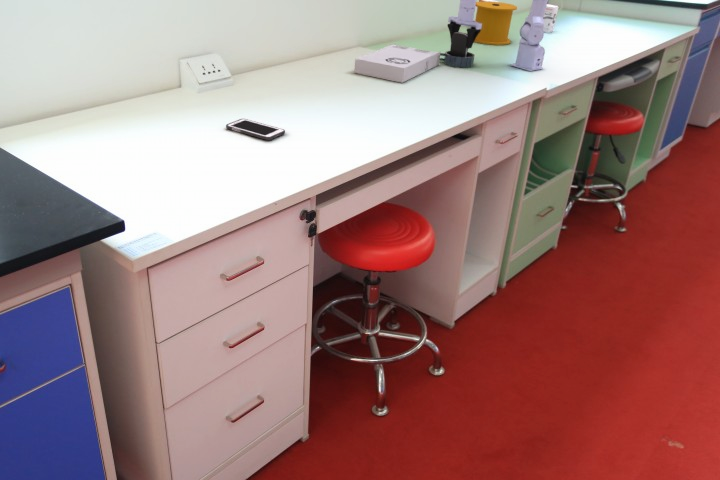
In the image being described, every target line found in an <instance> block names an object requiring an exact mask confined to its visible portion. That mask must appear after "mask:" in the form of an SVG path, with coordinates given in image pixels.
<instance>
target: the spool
mask: <svg viewBox="0 0 720 480" xmlns="http://www.w3.org/2000/svg"><path fill="white" fill-rule="evenodd" d="M475 8H476V14H475V20H474V21H476V22H478V23H481V24H482V27H481V31H480V33H479V34H478V35H477V37H476V39H475V41H474V43H478V44H484V45H489V46H490V45H491V46H506V45H510V44H511V39H510V38H509V34H510V28H511V22H512V17H513V12H514V11H517V10H518V6H517V5H515V4H512V3H506V2H501V1H498V2H490V1H481V2H479V1H476V6H475Z"/></svg>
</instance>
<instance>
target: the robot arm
mask: <svg viewBox="0 0 720 480" xmlns="http://www.w3.org/2000/svg"><path fill="white" fill-rule="evenodd" d="M476 2H477V0H460V1H459V6H458V13H457V16H453V15H452V16H448V20H447V21H448V22H447V28H448V31H449V35H450V36H449V37H450V41H451V40H452V35H453V34H454V33H456V32H460V29H461V26H464V27H468V28H466V34H467V48H469V49H472V48H473V45H474V43H475V42H474V41H475V39H476V37H477V35H478V34H479V33H480V31H481V27H482V24H481V23H478V22H476V21H475V20H474V17H475V10H476ZM548 2H549V0H532V1H531V5H530V10H529V12H528V15H527V16H526V18H525V19H524V22H523V24H522V25H521V27H520V28H519V36H520V37H521V38H520V40H519V44H518V49H517V54H516V58H515V63H510V66H511V67H515V68H518V69H521V70H525V71H528V72H533V71H539V70H542V69H543V63H544V58H545V53H546V50H545V47H544V46H543V45H542V46H541V45H540V43H541V42H542V40H543V39H544V36H545V32H543V27H544V21H543V16H544V13H545V9H546V6H547V4H548Z"/></svg>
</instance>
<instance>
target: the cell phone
mask: <svg viewBox="0 0 720 480" xmlns="http://www.w3.org/2000/svg"><path fill="white" fill-rule="evenodd" d="M225 128H226V129H228V130H231V131H235V132H238V133H240V134H245V135H247V136H248V135H249V136H252V137H255V138H259V139H262V140H265V141H271V140H274V139H276V138H278V137H280V136H283V135H285V134H286V130H285V129H283V128H281V127H280V128H279V127H277V126H272V125H269V124H265V123H262V122H258V121H256V120H255V121H254V120H251V119H247V118H239V119H237V120H235V121H232V122H229V123H227V124H226V125H225Z"/></svg>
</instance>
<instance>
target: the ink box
mask: <svg viewBox="0 0 720 480" xmlns="http://www.w3.org/2000/svg"><path fill="white" fill-rule="evenodd" d="M559 8H560V7H559V6H558V5H555V4H550V3H547V6H546V9H545V13H544V16H543V21H544V27H543V33H546V34H551V33H554V29H555V25H556V21H557V15H558V12H559Z"/></svg>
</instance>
